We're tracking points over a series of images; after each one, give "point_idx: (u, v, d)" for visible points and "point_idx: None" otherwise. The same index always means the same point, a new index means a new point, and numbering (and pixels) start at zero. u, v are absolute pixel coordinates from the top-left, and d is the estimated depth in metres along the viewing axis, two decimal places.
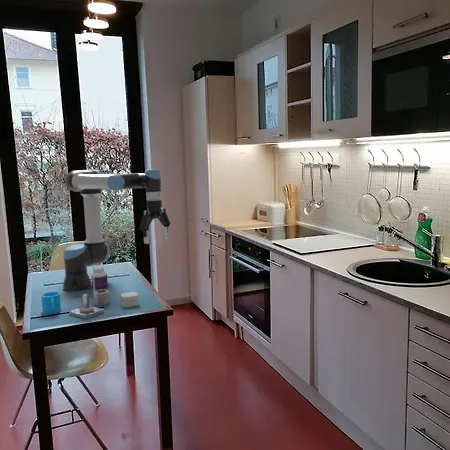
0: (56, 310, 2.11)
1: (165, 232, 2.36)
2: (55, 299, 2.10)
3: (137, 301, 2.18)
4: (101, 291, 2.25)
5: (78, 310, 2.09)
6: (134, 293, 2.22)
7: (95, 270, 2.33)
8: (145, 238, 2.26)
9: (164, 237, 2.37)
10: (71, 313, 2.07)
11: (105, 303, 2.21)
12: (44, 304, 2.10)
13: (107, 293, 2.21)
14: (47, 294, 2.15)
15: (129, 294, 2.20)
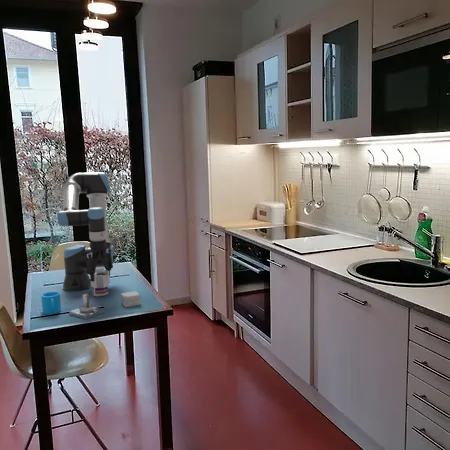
0: (56, 310, 2.11)
1: None
2: (55, 299, 2.10)
3: (139, 300, 2.19)
4: (100, 274, 2.24)
5: (78, 310, 2.09)
6: (135, 292, 2.22)
7: (95, 270, 2.33)
8: (93, 282, 2.19)
9: None
10: (71, 313, 2.07)
11: (104, 286, 2.20)
12: (44, 304, 2.10)
13: (106, 276, 2.20)
14: (47, 294, 2.15)
15: (130, 294, 2.21)
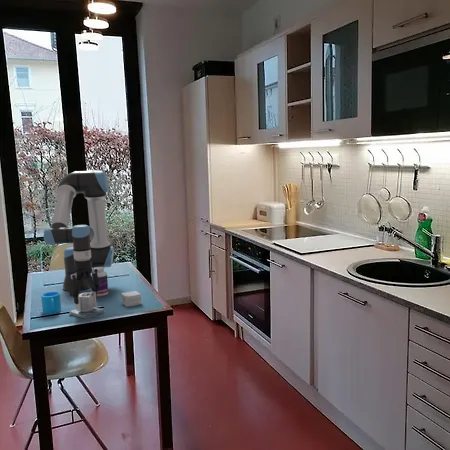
0: (56, 310, 2.11)
1: None
2: (55, 299, 2.10)
3: (140, 300, 2.20)
4: None
5: None
6: (135, 292, 2.23)
7: None
8: (77, 305, 2.04)
9: None
10: (71, 313, 2.07)
11: (89, 307, 2.05)
12: (44, 304, 2.10)
13: (92, 297, 2.06)
14: (47, 294, 2.15)
15: (131, 293, 2.21)
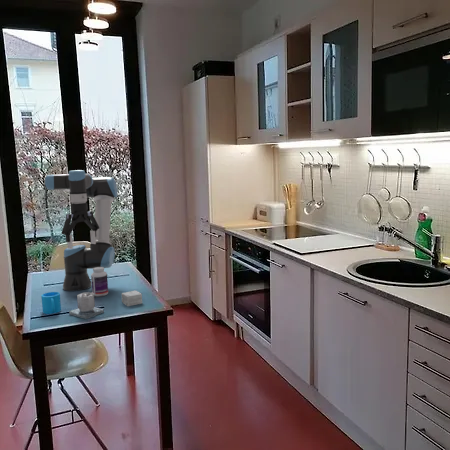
0: (56, 310, 2.11)
1: (93, 236, 2.24)
2: (55, 299, 2.10)
3: (141, 299, 2.21)
4: None
5: (78, 310, 2.09)
6: (136, 292, 2.24)
7: (95, 270, 2.33)
8: (68, 243, 2.14)
9: (92, 242, 2.25)
10: (71, 313, 2.07)
11: (89, 307, 2.05)
12: (44, 304, 2.10)
13: (92, 297, 2.06)
14: (47, 294, 2.15)
15: (132, 293, 2.22)
